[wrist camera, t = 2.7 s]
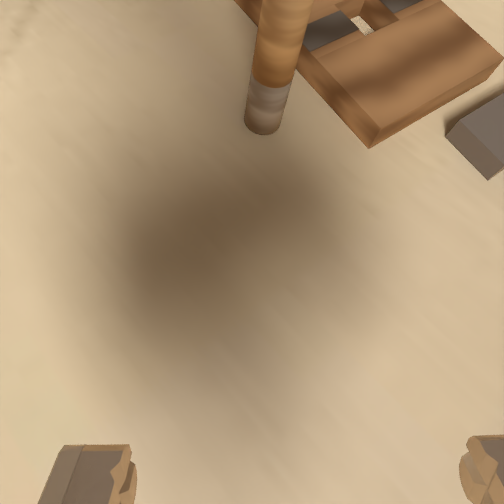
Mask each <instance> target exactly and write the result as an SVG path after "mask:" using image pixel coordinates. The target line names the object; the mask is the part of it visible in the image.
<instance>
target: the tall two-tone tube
mask: <svg viewBox="0 0 504 504" xmlns="http://www.w3.org/2000/svg"><path fill="white" fill-rule="evenodd" d="M313 2H314V0H262V7H261V13H260V20H259V26H258V32H257V39H256V45H255V52H254V58H253V65H252V71H251V77H250V84H249V90H248V97H247V103H246V110H245V116H244V121H245V124H246V126H247V127H248V128H249V129H250V130H251V131H252V132H254V133H256V134H260V135H269V134H272V133H274V132H275V131H277V129H278V128H279V126H280V123H281V119H282V115H283V112H284V108H285V104H286V101H287V97H288V93H289V90H290V86H291V82H292V79H293V75H294V71H295V68H296V64H297V61H298V57H299V53H300V50H301V46H302V42H303V39H304V35H305V31H306V28H307V24H308V20H309V17H310V13H311V9H312V6H313Z"/></svg>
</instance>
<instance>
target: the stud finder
mask: <svg viewBox="0 0 504 504" xmlns="http://www.w3.org/2000/svg"><path fill="white" fill-rule="evenodd" d="M445 137H446V138H447V139H448V140H449V141H450V142H451V143H452V144H453V145H454V146H455V147H456V148H457V149H458V150H459V151H460V152H461V153H462V154H463V155H464V156H465V157H466V159H467V160H468V161H469V162H470V163H471V164H472V165H473V166H474V167H475V168H476V169H477V170H478V171H479V172H480V173H481V174H482V175H483V176H484V177H485V178H486V179H487V180H489V179H491V178H492V177H493V176H495V175H496V174H498V173H499V172H501V171H502V170H503V169H504V93H503V94H501V95H499V96H498V97H496V98H494V99H493V100H491V101H489V102H488V103H486V104H485V105H483V106H481V107H480V108H478V109H476V110H475V111H473V112H471V113H470V114H468V115H467V116H465V117H463V118H462V119H460V120H459V121H458V122H457V123H456V124H455V126H454V127H453V128H452V129H451V130H450V132H449V133H448V134H447V135H446V136H445Z"/></svg>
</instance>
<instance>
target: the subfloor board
mask: <svg viewBox="0 0 504 504" xmlns="http://www.w3.org/2000/svg"><path fill="white" fill-rule="evenodd" d="M234 1H235V2H236V3H237V4H238V5H239V6H240V7H241V8H242V10H243V11H244V12H245V13H246V14H247V15H248V16H249V17H250V18H251V19H252V21H253V22H254V23H255V24H256V25H257V26H259V20H260V13H261V7H262V0H234ZM358 15H359V16H360V17H361V18H362V19H363V20H364V21H365V22H366V23H367V24H368V25H369V26H370V27H371V28H372V29H373V30H374V31H375V32H373V33H371V34H368V35H366V36H365V35H364V34H363V33H362V32H361V31H360V30H359V28H358V27H357V26H356V25H355V24H354V23H353V22H352V21H351V20H350V19H351V18H354V17H356V16H358ZM503 59H504V57H503V56H502V55H501V54H500V53H498V52H497V51H496V50H495V49H494V48H493V47H492V46H491V45H490V44H489V43H487V42H486V41H485V40H484V39H483V38H482V37H481V36H480V35H479V34H478V33H476V32H475V31H474V30H473V29H472V28H471V27H470V26H469V25H468V24H466V23H465V22H464V21H463V20H462V19H461V18H460V17H459V16H458V15H457V14H455V13H454V12H453V11H452V10H451V9H450V8H449V7H448V6H447V5H446V4H444V3H443V2H442V1H441V0H314V2H313V6H312V9H311V13H310V17H309V20H308V24H307V28H306V31H305V35H304V39H303V42H302V46H301V50H300V53H299V57H298V61H297V64H296V69H297V70H298V71H299V72H300V74H301V75H302V76H303V77H304V78H305V79H306V80H307V81H308V82H309V84H310V85H311V86H312V87H313V88H314V89H315V90H316V91H317V92H318V93H319V95H320V96H321V97H322V98H323V99H324V100H325V101H326V102H327V103H328V104H329V106H330V107H331V108H332V109H333V110H334V111H335V112H336V113H337V114H338V116H339V117H340V118H341V119H342V120H343V121H344V122H345V123H346V124H347V125H348V127H349V128H350V129H351V130H352V131H353V132H354V133H355V134H356V135H357V136H358V138H359V139H360V140H361V141H362V142H363V143H364V144H365V145H366V146H367V148H368V149H369V148H371V147H373V146H374V145H376V144H378V143H380V142H381V141H383V140H385V139H386V138H388V137H390V136H392V135H393V134H395V133H397V132H398V131H400V130H402V129H404V128H405V127H407V126H409V125H410V124H412V123H414V122H415V121H417V120H419V119H421V118H422V117H424V116H426V115H427V114H429V113H431V112H433V111H434V110H436V109H438V108H439V107H441V106H443V105H445V104H446V103H448V102H450V101H451V100H453V99H455V98H457V97H458V96H460V95H462V94H463V93H465V92H467V91H469V90H470V89H472V88H474V87H475V86H477V85H479V84H481V83H482V82H484V81H486V80H487V79H488V78H489V76H490V75H491V74H492V73H493V72H494V70H495V69H496V68H497V67H498V65H499V64H500V63H501V62H502V61H503Z"/></svg>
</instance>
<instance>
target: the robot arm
mask: <svg viewBox="0 0 504 504" xmlns="http://www.w3.org/2000/svg"><path fill="white" fill-rule="evenodd" d="M466 446H467V448H468V450H469V452H468V453H466V454H465V455H463V456H462V457H461V460H460V464H459V475H460V480H461V484H462V487H463V490H464V492H465V495H466V497H467V499H468V500H470V501H471V502H472V503H473V504H504V435H482V436H472V437H470V438H469V439H468V441H467V444H466ZM131 455H132V451H131V448H130V445H129V444H114V445H64V446H63V448H62V449H61V450H60V452H59V453H58V456H57V458H56V461H55V463H54V465H53V468H52V470H51V473H50V475H49V477H48V480H47V482H46V485H45V487H44V489H43V492H42V494H41V497H40V499H39V502H38V504H134V500H135V495H136V487H137V470H136V466H135V464H134V463H133V462H131V461H130V459H131Z"/></svg>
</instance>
